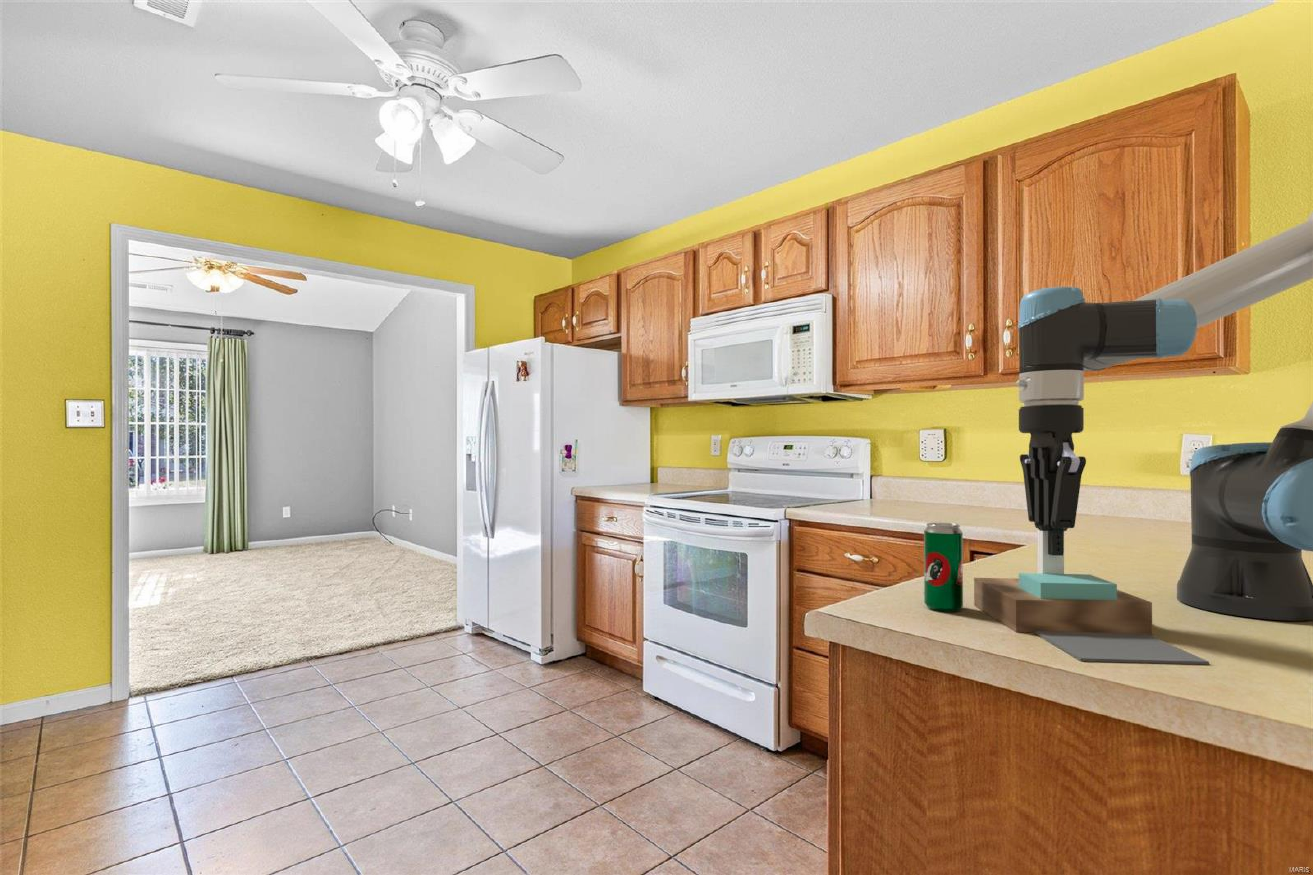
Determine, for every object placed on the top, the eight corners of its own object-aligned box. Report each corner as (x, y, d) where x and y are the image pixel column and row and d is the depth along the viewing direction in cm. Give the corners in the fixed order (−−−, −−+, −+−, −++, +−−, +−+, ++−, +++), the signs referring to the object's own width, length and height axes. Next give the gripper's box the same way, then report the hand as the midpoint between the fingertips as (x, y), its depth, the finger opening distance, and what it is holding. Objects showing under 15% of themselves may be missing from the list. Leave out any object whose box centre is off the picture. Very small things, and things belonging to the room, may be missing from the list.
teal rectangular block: (1089, 589, 86) (1089, 574, 86) (1116, 600, 80) (1116, 584, 80) (1018, 587, 87) (1018, 573, 87) (1040, 598, 81) (1040, 582, 81)
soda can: (967, 613, 89) (966, 527, 89) (928, 612, 90) (928, 526, 90) (957, 604, 94) (957, 522, 94) (921, 603, 95) (920, 521, 95)
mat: (1146, 636, 79) (1146, 633, 79) (1208, 664, 69) (1208, 661, 69) (1034, 633, 80) (1034, 631, 80) (1080, 661, 70) (1080, 658, 70)
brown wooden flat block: (1090, 607, 92) (1090, 579, 92) (1152, 635, 79) (1152, 602, 79) (974, 605, 93) (974, 577, 93) (1016, 631, 80) (1015, 599, 80)
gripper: (1000, 406, 94) (1001, 568, 94) (1045, 401, 81) (1045, 588, 81) (1055, 406, 93) (1055, 569, 93) (1108, 401, 80) (1108, 589, 80)
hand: (1050, 577), depth 87 cm, fingers closed
